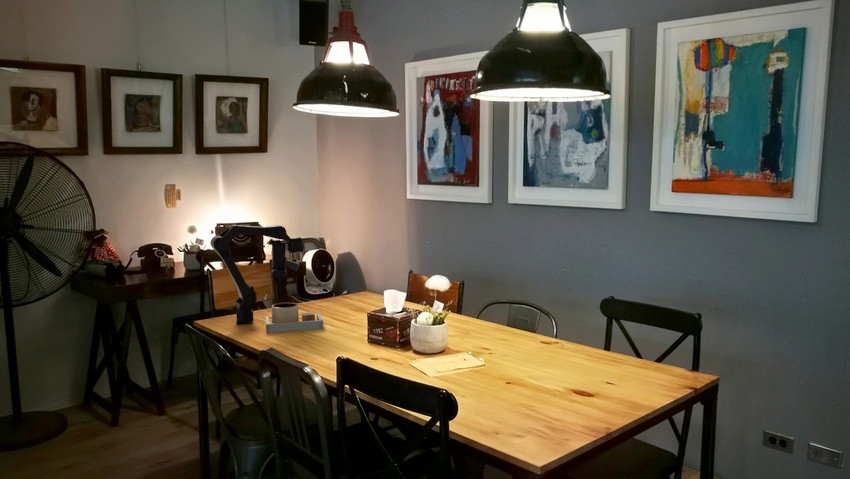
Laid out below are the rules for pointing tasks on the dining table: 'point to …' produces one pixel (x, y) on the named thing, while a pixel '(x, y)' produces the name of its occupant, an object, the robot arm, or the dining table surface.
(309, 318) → the walnut block
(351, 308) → the dining table surface
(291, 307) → the planter
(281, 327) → the tray bay
